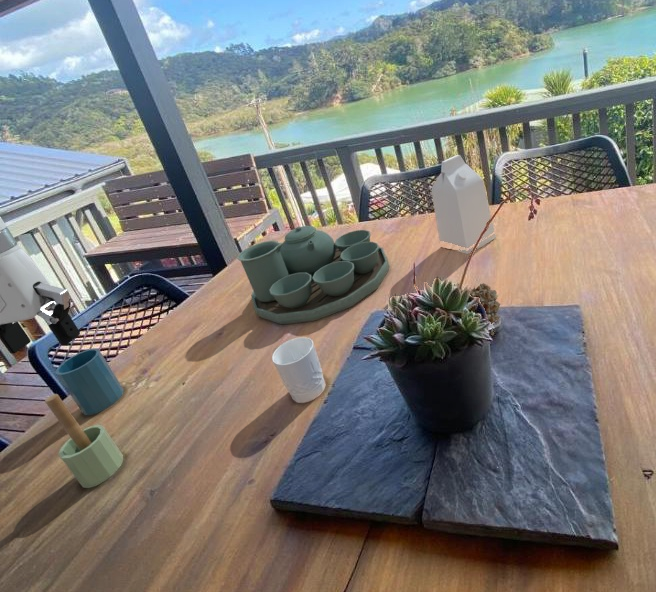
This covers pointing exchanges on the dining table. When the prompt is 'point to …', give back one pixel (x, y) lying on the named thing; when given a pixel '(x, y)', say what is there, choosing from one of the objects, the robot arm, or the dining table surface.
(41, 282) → the robot arm
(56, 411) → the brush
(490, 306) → the pine cone
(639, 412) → the dining table surface
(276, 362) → the white cup
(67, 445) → the holder
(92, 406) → the blue faceted cup
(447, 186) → the milk
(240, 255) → the tea set
